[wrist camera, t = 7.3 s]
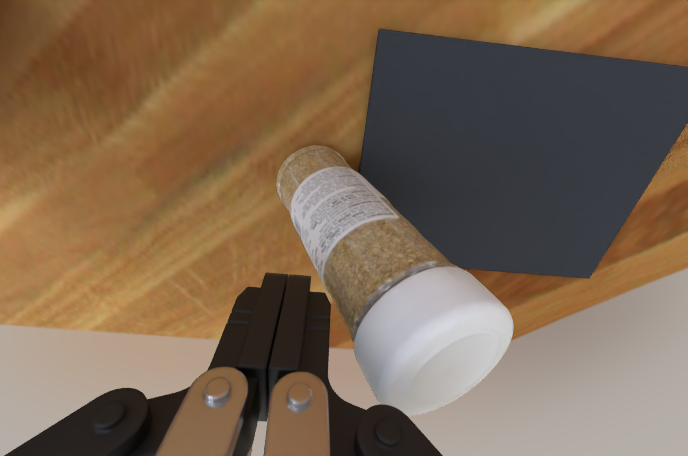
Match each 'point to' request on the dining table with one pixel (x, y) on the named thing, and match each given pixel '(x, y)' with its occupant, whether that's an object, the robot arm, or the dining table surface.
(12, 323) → the dining table surface
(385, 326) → the sprinkles bottle
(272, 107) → the dining table surface
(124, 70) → the dining table surface
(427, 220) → the rubber mat
